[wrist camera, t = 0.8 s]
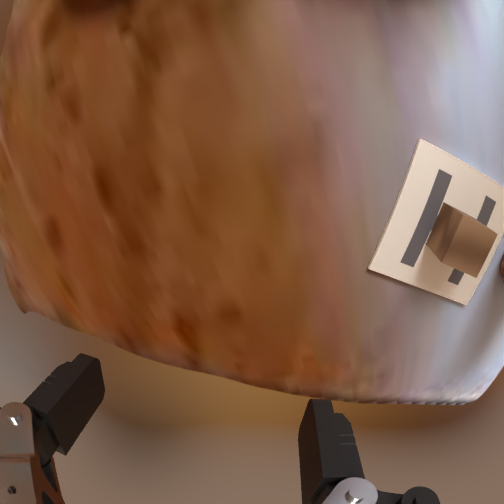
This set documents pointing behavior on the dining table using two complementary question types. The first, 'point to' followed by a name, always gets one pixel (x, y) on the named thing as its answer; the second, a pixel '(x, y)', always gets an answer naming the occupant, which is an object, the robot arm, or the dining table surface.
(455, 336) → the dining table surface
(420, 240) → the letter card
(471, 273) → the walnut block
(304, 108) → the dining table surface
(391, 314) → the dining table surface
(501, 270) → the sauce bottle
